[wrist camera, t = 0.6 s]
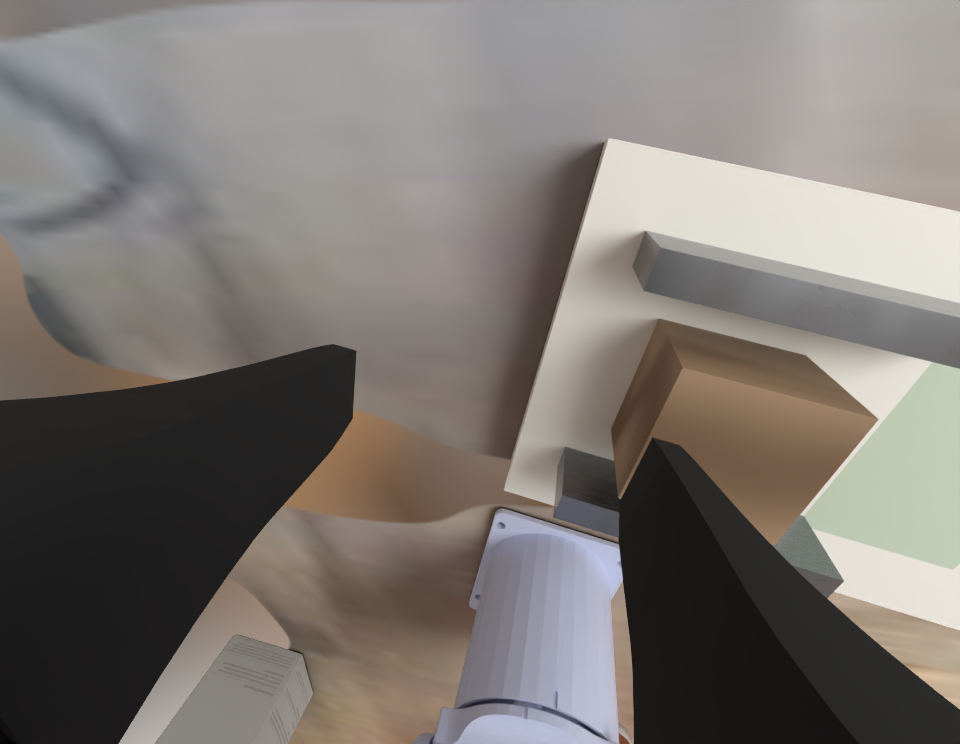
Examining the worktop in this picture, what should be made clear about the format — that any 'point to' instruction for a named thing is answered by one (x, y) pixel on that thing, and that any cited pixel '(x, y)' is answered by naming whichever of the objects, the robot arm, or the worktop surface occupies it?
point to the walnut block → (740, 420)
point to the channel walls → (782, 300)
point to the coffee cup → (624, 735)
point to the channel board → (857, 368)
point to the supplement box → (244, 698)
